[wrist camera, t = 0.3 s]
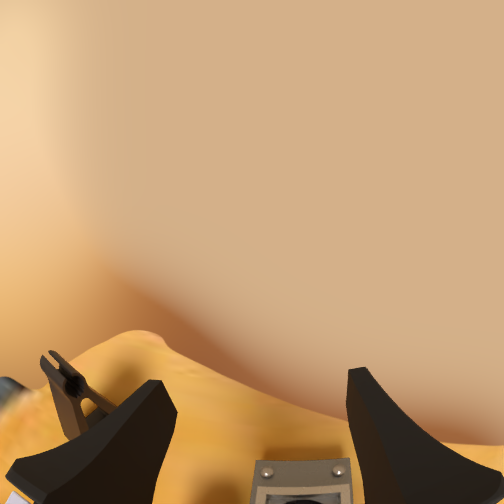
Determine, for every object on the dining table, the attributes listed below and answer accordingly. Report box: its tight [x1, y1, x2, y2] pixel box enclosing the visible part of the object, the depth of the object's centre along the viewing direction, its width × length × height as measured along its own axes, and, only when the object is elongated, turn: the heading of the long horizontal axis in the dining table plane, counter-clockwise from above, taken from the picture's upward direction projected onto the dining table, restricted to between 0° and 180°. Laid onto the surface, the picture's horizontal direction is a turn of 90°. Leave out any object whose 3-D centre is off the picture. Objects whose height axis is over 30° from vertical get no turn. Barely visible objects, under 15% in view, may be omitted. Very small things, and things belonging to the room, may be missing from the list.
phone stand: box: [40, 350, 117, 441], centre depth 23 cm, size 9×6×12 cm, turn 153°
